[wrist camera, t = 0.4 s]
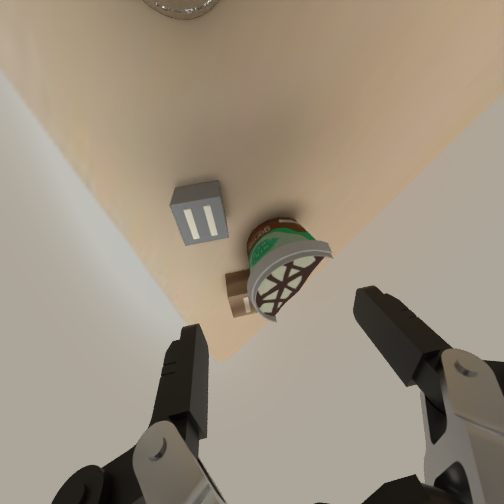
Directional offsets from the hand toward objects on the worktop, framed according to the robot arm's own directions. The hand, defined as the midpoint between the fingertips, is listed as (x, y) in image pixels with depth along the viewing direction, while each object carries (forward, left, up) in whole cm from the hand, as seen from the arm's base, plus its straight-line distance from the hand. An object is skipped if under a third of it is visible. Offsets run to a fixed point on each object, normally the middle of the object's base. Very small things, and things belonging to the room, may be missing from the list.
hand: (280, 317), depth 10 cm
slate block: (+1, -5, -19) cm, 20 cm away
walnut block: (+16, -2, -19) cm, 25 cm away
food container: (+8, +2, -19) cm, 21 cm away
